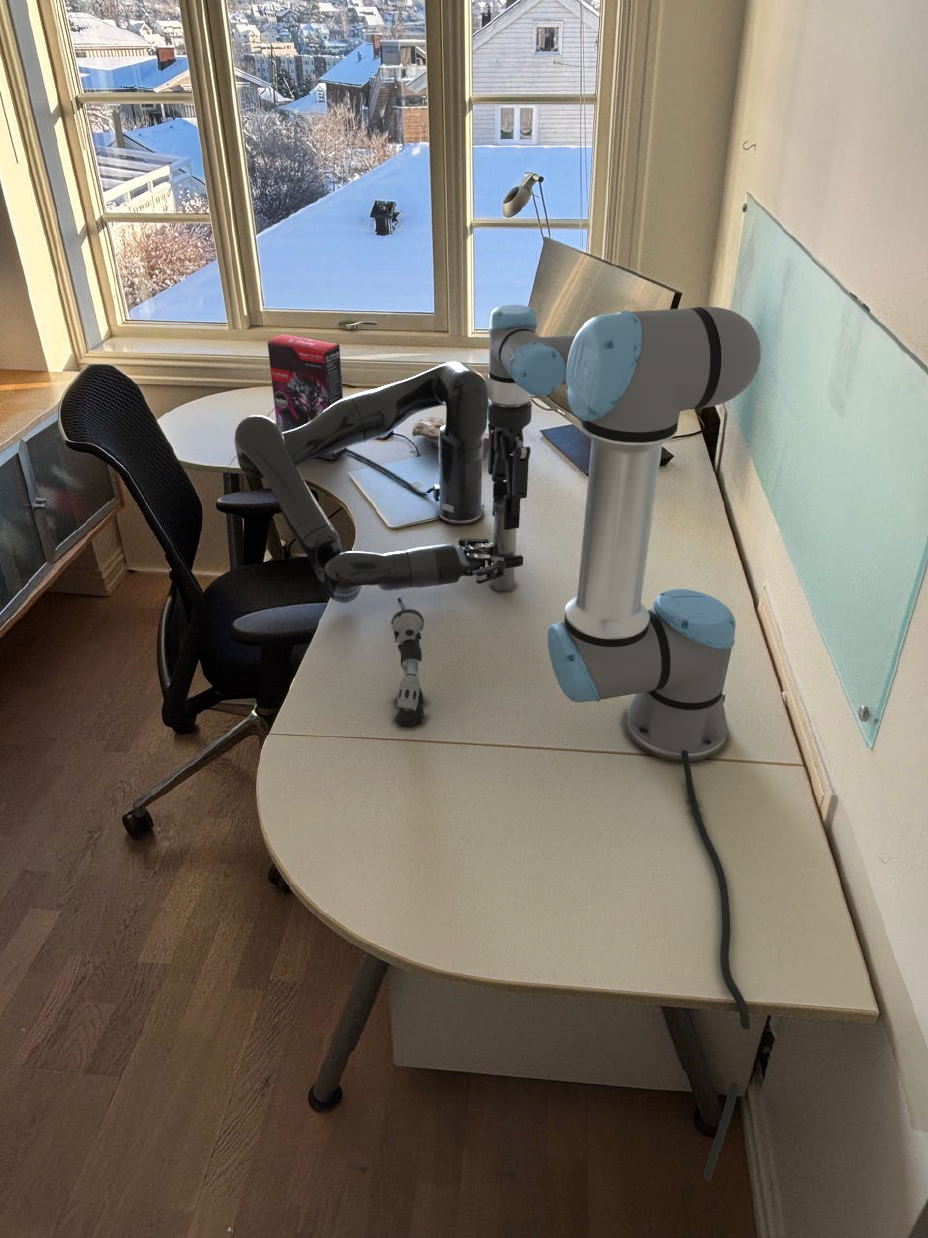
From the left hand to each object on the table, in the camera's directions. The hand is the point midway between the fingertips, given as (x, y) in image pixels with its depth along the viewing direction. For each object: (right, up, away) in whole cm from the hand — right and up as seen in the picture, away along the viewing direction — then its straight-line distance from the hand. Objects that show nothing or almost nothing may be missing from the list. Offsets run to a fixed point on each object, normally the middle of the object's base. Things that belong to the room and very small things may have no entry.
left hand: (517, 553), depth 175 cm
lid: (-3, +9, -7) cm, 12 cm away
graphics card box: (-48, +30, +55) cm, 79 cm away
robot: (-19, -27, -29) cm, 44 cm away
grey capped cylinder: (-3, -6, +3) cm, 7 cm away
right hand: (-3, +6, -5) cm, 8 cm away
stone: (-14, +31, +58) cm, 67 cm away
